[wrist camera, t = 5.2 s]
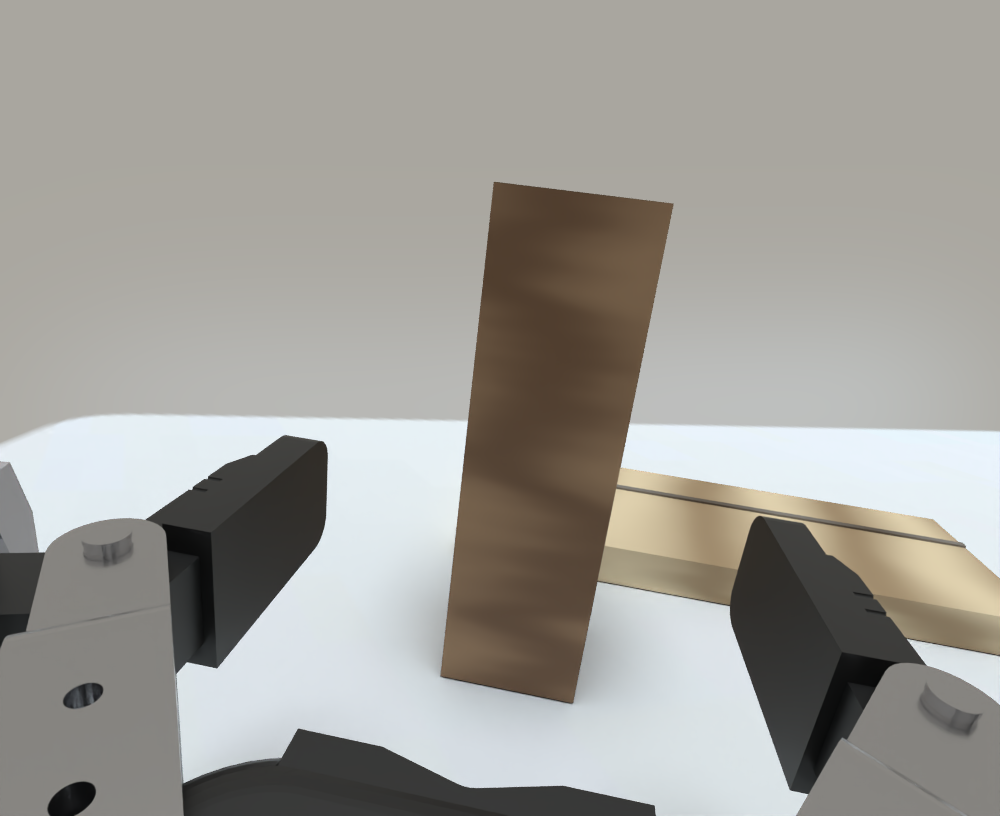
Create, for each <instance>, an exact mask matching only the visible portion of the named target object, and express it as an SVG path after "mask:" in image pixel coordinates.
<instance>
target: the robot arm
mask: <svg viewBox="0 0 1000 816" xmlns="http://www.w3.org/2000/svg"><path fill="white" fill-rule="evenodd" d="M327 464H328V453H327V447H326V444H325V443H324V442H323V441H317V440H311V439H305V438H299V437H293V436H287V435H284V436H282V437H280V438H279V439H278V440H276V441H275V442H273V443H272V444H271V445H269V446H268V447H267V448H265V449H264V450H262V451H261V452H260V453H258V454H257V455H250V456H247V457H245V458H242V459H239V460H236V461H233V462H230V463H227V464H225V465H224V466H223V467H221V468H220V469H218V470H217V471H215V472H214V473H212V474H211V475H210V476H208V479H204V480H202V481H201V482H199V483H198V484H196V485H195V486H194V487H193V489H192V490H188V491H186V492H185V493H183V494H182V495H181V496H179V497H178V498H176V499H175V500H173V501H172V502H170V503H169V504H168V505H166V506H165V507H163V508H162V509H160V510H159V511H157V512H156V513H155V514H153V515H152V516H150V517H149V518H147V519H146V520H142V519H132V518H122V519H110V520H104V521H99V522H94V523H90V524H87V525H84V526H81V527H78V528H76V529H73V530H71V531H69V532H67V533H65V534H63V535H62V536H60V537H59V538H57V539H56V540H55V541H53V542H52V543H51V544H50V546H49V547H48V548H47V550H46V552H45V553H0V816H656V814H655V806H654V805H650V804H645V803H640V802H636V801H631V800H626V799H622V798H617V797H612V796H608V795H603V794H599V793H594V792H589V791H585V790H580V789H575V788H571V787H566V786H540V787H504V788H468V787H464V786H461V785H459V784H456V783H454V782H452V781H450V780H448V779H446V778H444V777H442V776H440V775H438V774H436V773H434V772H432V771H430V770H428V769H426V768H424V767H422V766H420V765H418V764H416V763H414V762H412V761H410V760H408V759H406V758H404V757H402V756H400V755H398V754H396V753H394V752H392V751H390V750H388V749H386V748H384V747H381V746H376V745H372V744H367V743H362V742H358V741H353V740H348V739H344V738H339V737H335V736H330V735H325V734H321V733H316V732H311V731H307V730H302V729H298V730H297V732H296V733H295V735H294V737H293V739H292V741H291V742H290V744H289V746H288V748H287V750H286V751H285V753H284V755H283V757H282V758H276V759H264V760H257V761H250V762H245V763H241V764H237V765H233V766H228V767H225V768H222V769H219V770H216V771H213V772H210V773H207V774H204V775H201V776H199V777H197V778H195V779H193V780H190V781H188V782H186V783H184V782H183V767H182V752H181V737H180V722H179V707H178V693H177V678H176V674H177V673H178V671H179V670H180V669H181V668H182V667H183V666H184V665H185V664H186V662H189V663H194V664H199V665H203V666H208V667H213V668H218V667H219V665H220V664H221V663H222V662H223V661H224V659H225V658H226V657H227V656H228V654H229V653H230V652H231V651H232V650H233V648H234V647H235V646H236V645H237V643H238V642H239V641H240V640H241V638H242V637H243V636H244V635H245V634H246V632H247V631H248V630H249V629H250V627H251V626H252V625H253V624H254V623H255V621H256V620H257V619H258V618H259V616H260V615H261V614H262V613H263V611H264V610H265V609H266V608H267V607H268V605H269V604H270V603H271V602H272V600H273V599H274V598H275V597H276V596H277V594H278V593H279V592H280V591H281V589H282V588H283V587H284V586H285V584H286V583H287V582H288V581H289V580H290V578H291V577H292V576H293V575H294V573H295V572H296V571H297V570H298V569H299V567H300V566H301V565H302V564H303V562H304V561H305V560H306V559H307V558H308V556H309V555H310V554H311V553H312V551H313V550H314V549H315V548H316V546H317V545H318V543H319V541H320V539H321V536H322V533H323V530H324V526H325V520H326V501H327ZM873 596H874V595H873V594H872V592H871V591H870V590H869V589H868V587H867V586H866V585H865V583H864V582H863V581H862V579H861V578H860V577H859V575H858V574H856V573H855V572H854V571H852V570H851V569H850V568H848V567H847V566H846V565H844V564H843V563H842V562H841V561H839V560H838V559H837V558H835V557H834V556H832V555H826V553H825V552H824V550H823V549H822V548H821V546H820V545H819V543H818V542H817V541H816V539H815V538H814V536H813V535H812V533H811V532H810V531H809V529H808V528H807V526H806V525H805V524H803V523H800V522H794V521H788V520H782V519H776V518H770V517H764V516H757V517H756V518H755V519H754V521H753V522H752V524H751V527H750V530H749V533H748V537H747V540H746V544H745V547H744V550H743V554H742V557H741V561H740V564H739V568H738V571H737V575H736V578H735V582H734V585H733V589H732V593H731V600H730V618H731V624H732V627H733V630H734V633H735V636H736V639H737V642H738V644H739V647H740V650H741V653H742V656H743V659H744V661H745V664H746V667H747V670H748V673H749V676H750V678H751V681H752V684H753V687H754V690H755V693H756V695H757V698H758V701H759V704H760V707H761V710H762V712H763V715H764V718H765V721H766V724H767V727H768V729H769V732H770V735H771V738H772V741H773V744H774V746H775V749H776V752H777V755H778V758H779V761H780V763H781V766H782V769H783V772H784V775H785V778H786V780H787V783H788V786H789V789H790V790H791V791H796V792H800V793H805V794H808V796H807V798H806V800H805V801H804V803H803V805H802V807H801V808H800V810H799V812H798V814H797V815H796V816H1000V705H999V704H998V703H997V702H995V701H994V700H993V699H992V698H990V697H989V696H988V695H986V694H985V693H984V692H982V691H981V690H979V689H977V688H976V687H974V686H973V685H971V684H969V683H967V682H965V681H964V680H962V679H960V678H958V677H956V676H953V675H951V674H949V673H947V672H944V671H941V670H939V669H936V668H932V667H929V666H927V665H926V664H925V663H924V662H923V660H922V659H921V658H920V656H919V655H918V654H917V652H916V651H915V650H914V648H913V647H912V646H911V644H910V643H909V642H908V640H907V639H906V638H905V636H904V635H903V634H902V632H901V631H900V630H899V628H898V627H897V626H896V624H895V623H894V622H893V620H892V619H891V618H890V617H887V616H886V613H887V612H886V611H885V610H884V608H883V607H882V606H881V604H880V603H879V602H878V600H877V599H873Z"/></svg>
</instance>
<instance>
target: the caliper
mask: <svg viewBox="0 0 1000 816" xmlns="http://www.w3.org/2000/svg"><path fill="white" fill-rule="evenodd" d="M0 553H39V550H38V544H37V538H36V531H35V525H34V519H33V512H32V510H31V507H30V505H29V503H28V501H27V499H26V496H25V494H24V492H23V490H22V488H21V485H20V483H19V481H18V479H17V477H16V475H15V473H14V470H13V468H12V466H11V464H10V462H0Z"/></svg>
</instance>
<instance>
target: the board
mask: <svg viewBox="0 0 1000 816" xmlns="http://www.w3.org/2000/svg"><path fill="white" fill-rule="evenodd" d="M757 516H764V517H770V518H776V519H782V520H788V521H794V522H800V523H803V524H805V525H806V526H807V528H808V529H809V531H810V532H811V533H812V535H813V536H814V538H815V539H816V541H817V542H818V543H819V545H820V546H821V548H822V549H823V550H824V552H825V553H826V555H832V556H834V557H835V558H837V559H838V560H839V561H841V562H842V563H843V564H844V565H846V566H847V567H848V568H850V569H851V570H852V571H854V572H855V573H856V574H858V575H859V577H860V578H861V579H862V581H863V582H864V583H865V585H866V586H867V587H868V589H869V590H870V591H871V592H872V594H873V595H874V596H873V599H877V600H878V602H879V603H880V604H881V606H882V607H883V608H884V610H885V611H886V612H887V613H886V616H887V617H890V618H891V619H892V620H893V622H894V623H895V624H896V626H897V627H898V628H899V630H900V631H901V632H902V634H903V635H904V636H905V638H910V639H915V640H921V641H926V642H931V643H937V644H942V645H948V646H953V647H958V648H964V649H969V650H975V651H980V652H985V653H991V654H996V655H1000V578H999V577H997V576H996V575H995V574H994V573H993V572H992V571H991V570H989V569H988V568H987V567H986V566H985V565H984V564H983V563H982V562H980V561H979V560H978V559H977V558H976V557H975V556H974V555H973V554H971V553H970V552H969V551H968V550H967V549H966V546H965V545H964V544H963V543H961V542H958V541H957V540H956V539H954V538H953V537H952V536H951V535H950V534H949V533H948V532H947V531H945V530H944V529H943V528H942V527H941V526H940V525H939V524H938V523H936V522H935V521H934V520H933V519H927V518H921V517H915V516H909V515H903V514H897V513H891V512H885V511H879V510H873V509H867V508H861V507H855V506H849V505H843V504H837V503H831V502H825V501H819V500H813V499H807V498H801V497H795V496H789V495H783V494H776V493H770V492H764V491H758V490H752V489H746V488H740V487H734V486H728V485H722V484H716V483H710V482H704V481H698V480H692V479H686V478H680V477H674V476H668V475H662V474H656V473H650V472H644V471H638V470H632V469H626V468H620V472H619V477H618V482H617V487H616V492H615V497H614V502H613V507H612V512H611V517H610V522H609V526H608V531H607V536H606V541H605V546H604V551H603V556H602V561H601V566H600V571H599V576H598V581H602V582H607V583H613V584H618V585H624V586H629V587H634V588H640V589H645V590H651V591H656V592H661V593H667V594H672V595H678V596H683V597H688V598H694V599H699V600H705V601H710V602H715V603H721V604H726V605H730V600H731V593H732V589H733V585H734V582H735V578H736V575H737V571H738V568H739V564H740V561H741V557H742V554H743V550H744V547H745V544H746V540H747V537H748V533H749V530H750V527H751V524H752V522H753V521H754V519H755V518H756V517H757Z"/></svg>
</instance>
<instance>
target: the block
mask: <svg viewBox="0 0 1000 816" xmlns="http://www.w3.org/2000/svg"><path fill="white" fill-rule="evenodd" d="M672 209H673V204H671V203H664V202H656V201H647V200H639V199H630V198H623V197H615V196H606V195H598V194H589V193H581V192H573V191H565V190H557V189H549V188H541V187H532V186H523V185H516V184H508V183H500V182H494V187H493V195H492V205H491V213H490V223H489V232H488V241H487V250H486V260H485V270H484V278H483V288H482V297H481V306H480V315H479V326H478V334H477V343H476V352H475V362H474V371H473V381H472V390H471V399H470V408H469V418H468V427H467V436H466V445H465V454H464V464H463V473H462V482H461V491H460V501H459V510H458V519H457V528H456V538H455V547H454V556H453V566H452V575H451V584H450V593H449V603H448V612H447V621H446V630H445V640H444V649H443V658H442V667H441V676H443V677H448V678H453V679H458V680H463V681H467V682H472V683H477V684H482V685H487V686H492V687H497V688H501V689H506V690H511V691H516V692H521V693H526V694H530V695H535V696H540V697H545V698H550V699H555V700H560V701H564V702H569V703H573V700H574V695H575V690H576V685H577V680H578V675H579V670H580V665H581V660H582V655H583V650H584V646H585V641H586V636H587V631H588V626H589V621H590V616H591V611H592V606H593V601H594V596H595V591H596V586H597V581H598V576H599V571H600V566H601V561H602V556H603V551H604V546H605V541H606V536H607V531H608V526H609V522H610V517H611V512H612V507H613V502H614V497H615V492H616V487H617V482H618V477H619V472H620V467H621V462H622V457H623V452H624V447H625V442H626V437H627V432H628V427H629V422H630V417H631V412H632V407H633V402H634V398H635V392H636V387H637V383H638V378H639V373H640V368H641V362H642V358H643V353H644V348H645V342H646V337H647V333H648V328H649V323H650V318H651V313H652V308H653V303H654V298H655V293H656V288H657V283H658V278H659V274H660V269H661V264H662V259H663V254H664V249H665V244H666V239H667V234H668V229H669V224H670V219H671V214H672Z"/></svg>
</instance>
